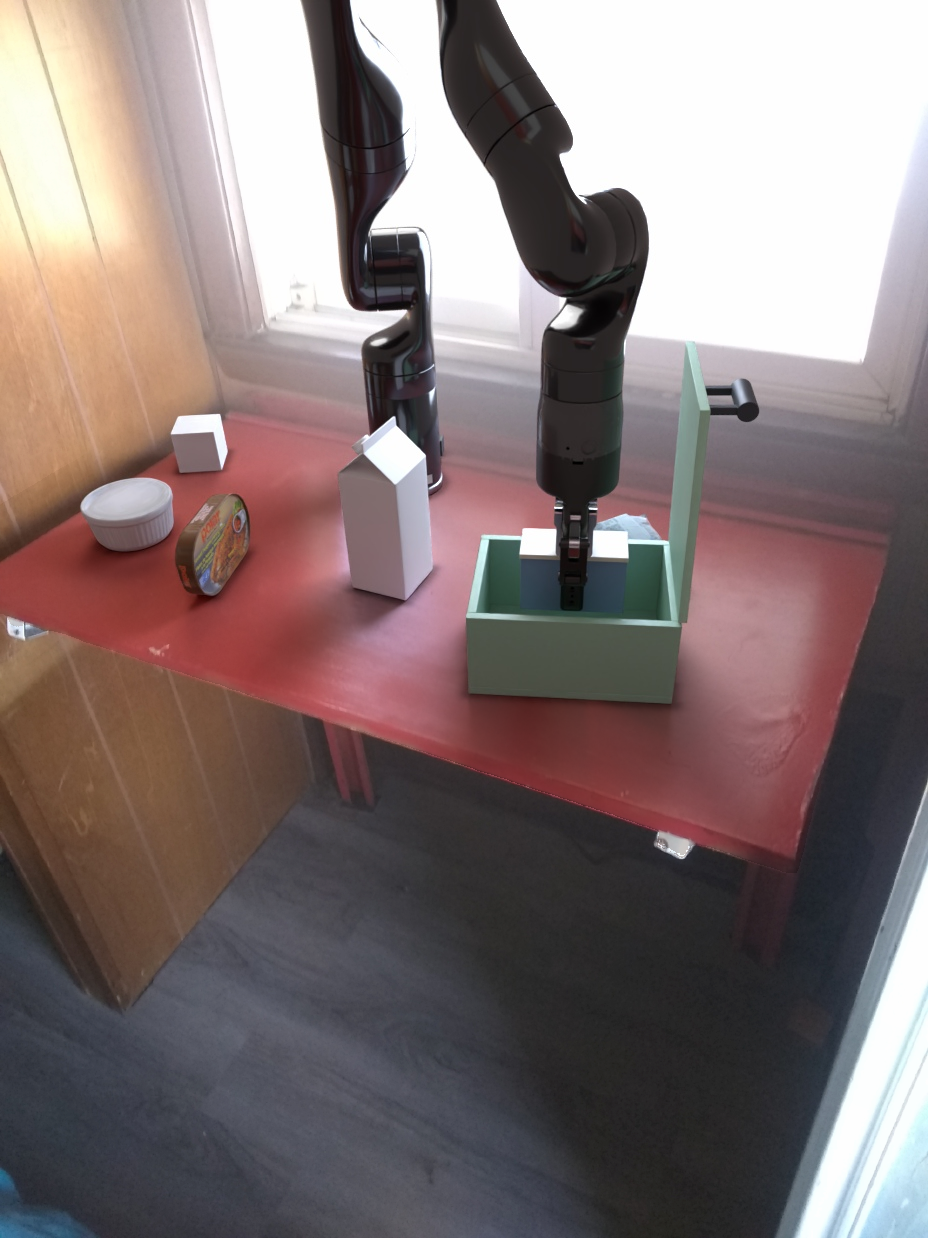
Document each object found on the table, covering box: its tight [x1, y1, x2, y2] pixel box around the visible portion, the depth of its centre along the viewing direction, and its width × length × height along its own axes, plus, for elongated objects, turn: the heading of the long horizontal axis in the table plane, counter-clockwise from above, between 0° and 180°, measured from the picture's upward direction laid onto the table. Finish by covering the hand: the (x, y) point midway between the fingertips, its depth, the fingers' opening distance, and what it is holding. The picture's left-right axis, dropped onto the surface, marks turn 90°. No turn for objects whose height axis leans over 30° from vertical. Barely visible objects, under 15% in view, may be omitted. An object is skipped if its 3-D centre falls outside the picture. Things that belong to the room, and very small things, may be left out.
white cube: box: [170, 413, 229, 474], centre depth 132 cm, size 6×6×6 cm
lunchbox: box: [465, 534, 683, 705], centre depth 93 cm, size 20×15×9 cm
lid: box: [667, 340, 760, 624], centre depth 83 cm, size 21×15×5 cm
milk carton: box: [337, 416, 434, 601], centre depth 102 cm, size 7×7×19 cm
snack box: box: [519, 527, 629, 613], centre depth 90 cm, size 5×10×6 cm, turn 83°
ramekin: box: [79, 477, 175, 552], centre depth 117 cm, size 11×11×5 cm
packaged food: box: [594, 513, 665, 541], centre depth 107 cm, size 9×12×5 cm
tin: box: [174, 492, 252, 597], centre depth 108 cm, size 15×3×8 cm, turn 168°
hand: (572, 592), depth 92 cm, fingers closed on snack box, 4 cm apart
